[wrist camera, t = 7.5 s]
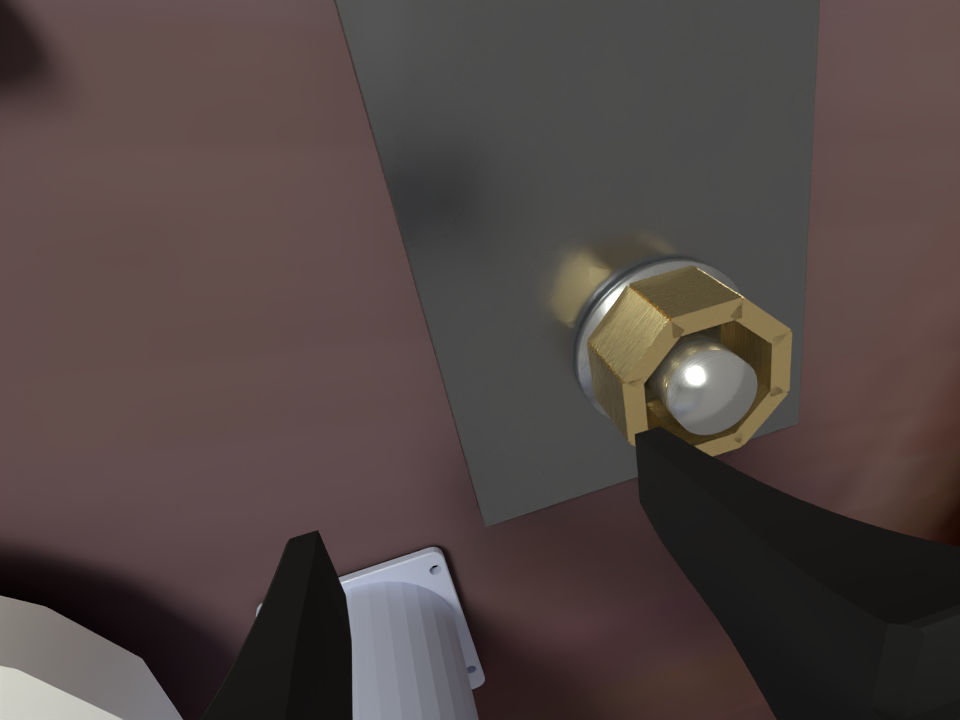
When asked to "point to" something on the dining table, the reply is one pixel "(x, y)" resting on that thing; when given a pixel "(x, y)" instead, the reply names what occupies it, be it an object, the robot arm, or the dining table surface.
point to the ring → (652, 333)
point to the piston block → (587, 206)
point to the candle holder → (70, 671)
